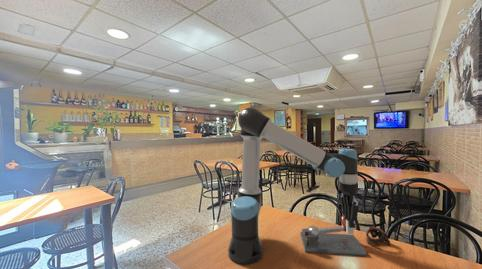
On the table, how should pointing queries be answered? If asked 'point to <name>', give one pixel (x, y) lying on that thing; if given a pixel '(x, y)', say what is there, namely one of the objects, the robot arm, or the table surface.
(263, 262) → the table surface
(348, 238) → the base board
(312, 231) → the lever
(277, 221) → the table surface
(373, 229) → the pottery mug
